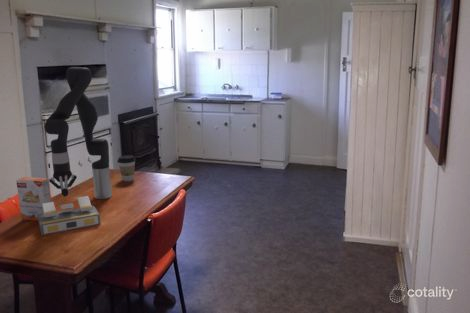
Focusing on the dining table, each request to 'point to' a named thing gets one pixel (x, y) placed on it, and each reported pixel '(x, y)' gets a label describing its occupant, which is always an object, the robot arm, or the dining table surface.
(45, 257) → the dining table surface
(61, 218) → the switch unit
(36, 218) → the cracker box
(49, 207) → the rocker left
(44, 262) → the dining table surface
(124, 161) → the coffee cup
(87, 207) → the rocker right
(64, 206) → the rocker mid
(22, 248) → the dining table surface
